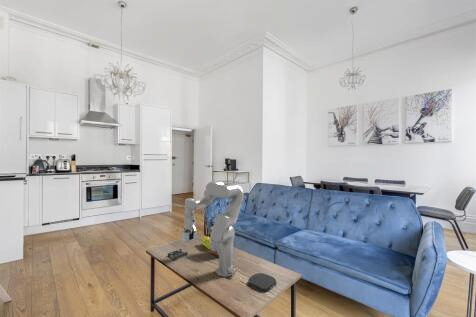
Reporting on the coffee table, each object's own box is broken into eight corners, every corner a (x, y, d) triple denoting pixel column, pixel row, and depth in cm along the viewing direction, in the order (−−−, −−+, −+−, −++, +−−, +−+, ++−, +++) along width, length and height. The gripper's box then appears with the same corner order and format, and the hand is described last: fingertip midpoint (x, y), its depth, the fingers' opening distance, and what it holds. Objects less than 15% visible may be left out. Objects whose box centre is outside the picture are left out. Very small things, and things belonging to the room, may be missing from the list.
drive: (197, 239, 170) (197, 229, 170) (185, 242, 162) (185, 233, 162) (193, 237, 173) (193, 228, 173) (181, 241, 165) (181, 231, 165)
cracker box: (209, 253, 177) (209, 227, 177) (214, 250, 182) (214, 225, 182) (222, 258, 168) (222, 230, 168) (227, 255, 173) (227, 229, 173)
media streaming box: (259, 275, 145) (259, 270, 145) (278, 283, 135) (278, 278, 135) (245, 284, 133) (245, 279, 133) (265, 294, 124) (265, 289, 124)
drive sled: (187, 255, 172) (187, 252, 172) (174, 260, 163) (174, 256, 164) (181, 251, 178) (181, 248, 178) (167, 256, 169) (167, 253, 169)
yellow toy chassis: (201, 244, 194) (202, 235, 194) (207, 243, 197) (207, 234, 197) (209, 251, 181) (209, 241, 181) (215, 249, 184) (215, 240, 184)
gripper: (200, 215, 165) (200, 239, 165) (187, 211, 176) (186, 234, 176) (192, 217, 159) (192, 242, 159) (179, 213, 171) (178, 236, 170)
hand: (189, 238), depth 168 cm, fingers closed on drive, 5 cm apart
